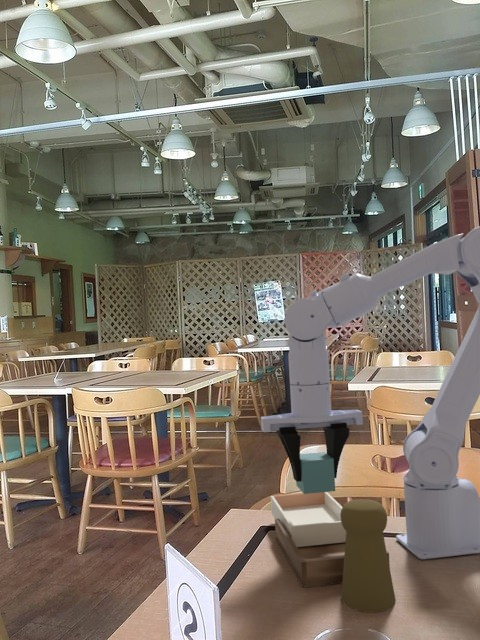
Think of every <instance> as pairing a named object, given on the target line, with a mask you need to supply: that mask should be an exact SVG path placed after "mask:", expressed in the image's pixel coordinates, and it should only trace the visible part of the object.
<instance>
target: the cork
mask: <svg viewBox="0 0 480 640" xmlns="http://www.w3.org/2000/svg"><path fill="white" fill-rule="evenodd" d="M342 507H343V508H342V509H341V514H340V517H341V522H342V525H343V528H344V529H345V530H346V541H345V554H344V567H343V581H342V583H341V594H340V598H341V602H342V603H343V604H344V605H345V607H348V608H350V609H352V610H356V611H358V612H362V613H363V612H364V613H365V612H366V613H379V612H384V611H386V610H387V611H388V610H390V609H392V608H393V607H394V606H395V604H396V600H397V599H396V595H395V594H396V593H395V591H394V590H395V589H394V584H393V579H392V574H391V566H390V567H389V564H390V561H389V562H388V557H387V552H388V551H387V547H386V540H385V537H384V531H385V529H386V528H387V523H388V514H387V511H386V509H385V507H384V506H383V504H382V503H381V502H378V501H376V500H373V499H368V498H367V499H366V498H358V499H351V500H349V501H347V502H345V503H344V504H343V506H342Z"/></svg>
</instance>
